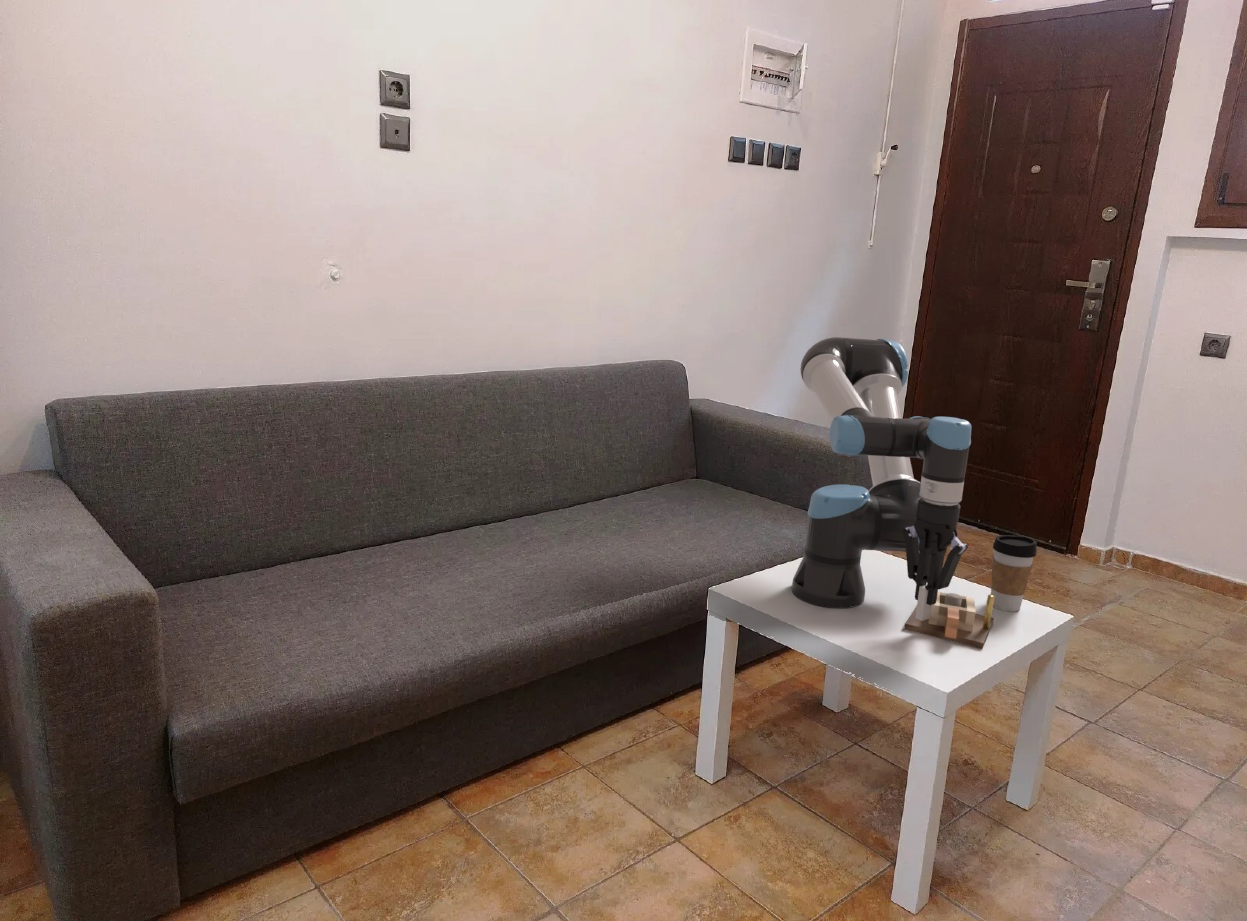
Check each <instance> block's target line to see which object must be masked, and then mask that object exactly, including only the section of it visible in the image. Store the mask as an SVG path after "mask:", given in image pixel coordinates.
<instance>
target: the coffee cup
mask: <svg viewBox="0 0 1247 921" xmlns="http://www.w3.org/2000/svg"><path fill="white" fill-rule="evenodd" d="M1037 542H1038V541H1037V540H1036V539H1033V538H1032V537H1028V536H1025V535H1009V534H1008V535H1007V534H1006V535H1005V534H1002V535H998V536H996V537H995V539H994V542H993V544H992V549H993V551H994V552H993V556H992V566H991V567H992V568H991V579H990V580H991V582H990V583H991V585H990V588H991V589H990V595H994V596H995V598H994V603H993V608H995V609H997V610H1001V611H1005V612H1018V611H1020V610H1021V606H1022V603H1023V600H1024V595H1025V592H1026V588H1027V586H1028V583H1029V580H1030V579H1029V578H1030V575H1031V572H1032V568H1033V565H1034V563H1033V560H1034V558H1035V557H1036V556H1037V553H1038V550H1037V547H1038V546H1037V545H1038V544H1037Z"/></svg>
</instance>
